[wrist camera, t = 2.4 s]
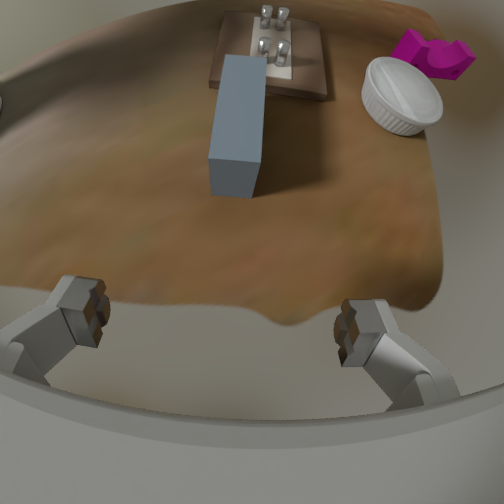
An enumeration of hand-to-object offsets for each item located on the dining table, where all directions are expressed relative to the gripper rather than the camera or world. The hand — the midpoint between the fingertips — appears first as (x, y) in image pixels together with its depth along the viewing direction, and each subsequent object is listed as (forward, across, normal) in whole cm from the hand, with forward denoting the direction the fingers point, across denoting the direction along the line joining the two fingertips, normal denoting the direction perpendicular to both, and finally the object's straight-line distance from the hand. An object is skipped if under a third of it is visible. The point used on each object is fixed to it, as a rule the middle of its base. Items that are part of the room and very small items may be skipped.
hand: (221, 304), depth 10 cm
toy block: (+42, -29, -15) cm, 53 cm away
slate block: (+25, 0, +1) cm, 25 cm away
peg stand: (+36, -3, -10) cm, 38 cm away
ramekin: (+32, -20, -5) cm, 38 cm away
